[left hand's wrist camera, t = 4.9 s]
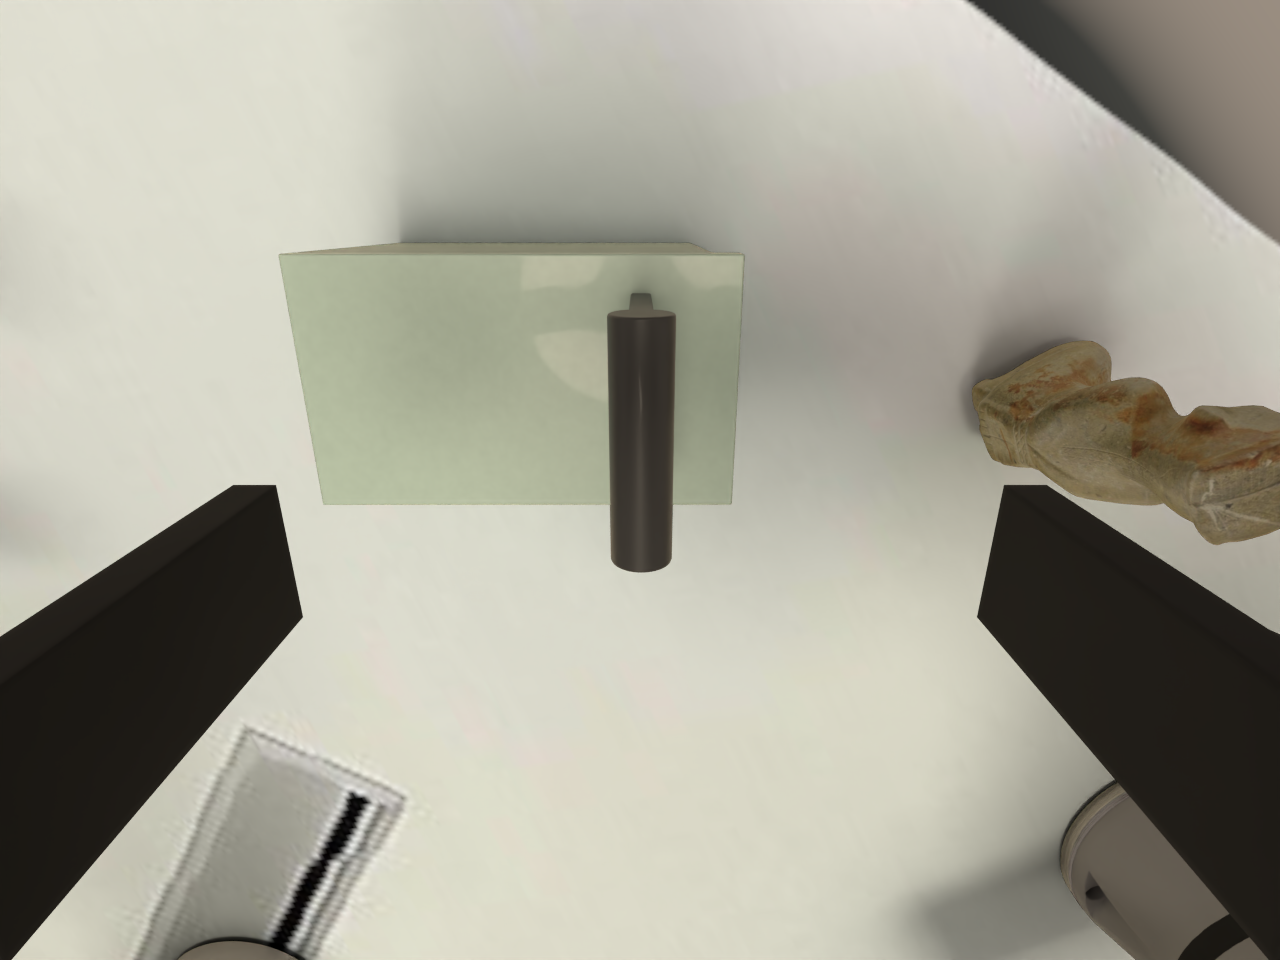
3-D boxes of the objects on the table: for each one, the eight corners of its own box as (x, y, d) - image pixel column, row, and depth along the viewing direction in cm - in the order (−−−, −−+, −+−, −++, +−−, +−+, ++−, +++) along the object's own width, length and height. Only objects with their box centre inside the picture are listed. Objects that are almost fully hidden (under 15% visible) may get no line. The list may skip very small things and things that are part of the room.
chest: (691, 243, 34) (713, 252, 24) (686, 417, 38) (705, 493, 27) (399, 242, 34) (294, 252, 24) (420, 417, 38) (335, 493, 27)
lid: (740, 252, 24) (791, 268, 16) (728, 493, 27) (765, 608, 19) (293, 252, 24) (118, 269, 16) (335, 493, 27) (207, 609, 19)
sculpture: (1098, 420, 37) (1372, 540, 23) (967, 462, 38) (1156, 602, 24) (1085, 319, 35) (1376, 383, 21) (947, 365, 36) (1141, 457, 22)
